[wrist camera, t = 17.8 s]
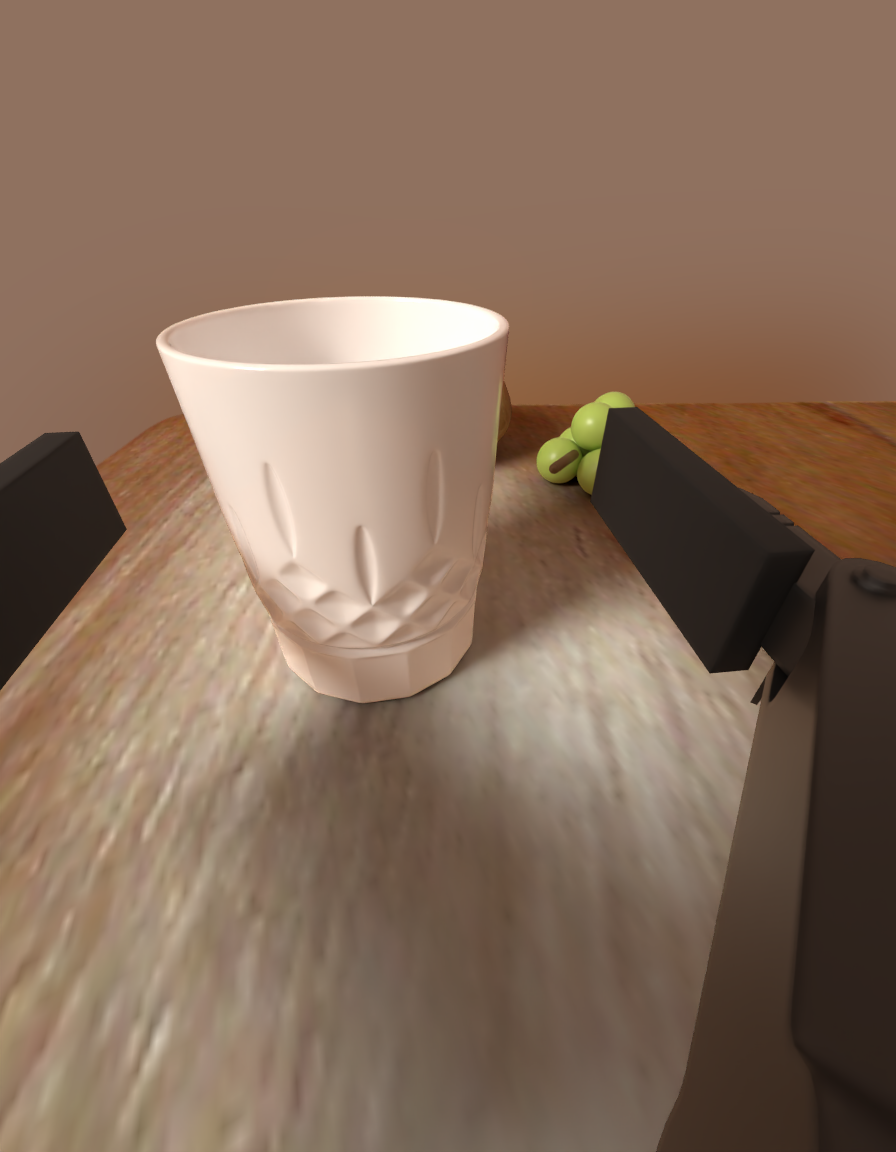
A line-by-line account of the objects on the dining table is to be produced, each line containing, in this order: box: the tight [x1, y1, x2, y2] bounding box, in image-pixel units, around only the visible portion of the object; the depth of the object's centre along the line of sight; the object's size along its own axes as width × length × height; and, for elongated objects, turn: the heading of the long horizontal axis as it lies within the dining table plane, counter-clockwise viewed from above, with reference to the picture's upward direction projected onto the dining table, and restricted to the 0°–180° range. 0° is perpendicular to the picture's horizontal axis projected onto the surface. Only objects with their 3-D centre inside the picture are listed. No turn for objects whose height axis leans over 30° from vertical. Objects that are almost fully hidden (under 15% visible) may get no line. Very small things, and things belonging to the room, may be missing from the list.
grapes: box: [537, 392, 635, 495], centre depth 26 cm, size 11×5×4 cm, turn 141°
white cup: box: [156, 296, 509, 703], centre depth 14 cm, size 8×8×10 cm
